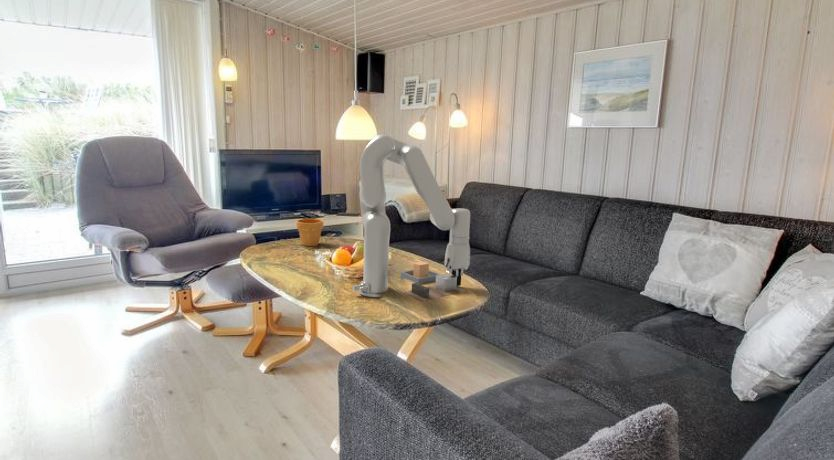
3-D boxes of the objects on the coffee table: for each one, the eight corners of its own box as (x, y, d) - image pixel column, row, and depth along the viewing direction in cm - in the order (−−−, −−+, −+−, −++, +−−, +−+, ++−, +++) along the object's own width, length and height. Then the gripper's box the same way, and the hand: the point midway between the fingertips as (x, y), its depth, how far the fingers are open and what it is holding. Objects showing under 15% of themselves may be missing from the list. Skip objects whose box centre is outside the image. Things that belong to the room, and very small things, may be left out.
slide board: (421, 305, 175) (422, 292, 174) (401, 296, 184) (402, 283, 183) (467, 294, 189) (468, 282, 188) (446, 286, 198) (447, 274, 197)
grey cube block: (444, 291, 186) (445, 279, 185) (435, 288, 190) (435, 275, 189) (456, 289, 189) (457, 277, 188) (446, 285, 194) (447, 273, 193)
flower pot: (292, 246, 256) (291, 222, 254) (302, 240, 270) (302, 217, 268) (317, 248, 254) (317, 223, 252) (327, 242, 268) (327, 219, 265)
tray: (418, 287, 195) (418, 279, 195) (400, 279, 204) (400, 271, 204) (440, 282, 203) (441, 274, 202) (422, 275, 212) (422, 267, 211)
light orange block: (419, 281, 200) (419, 265, 199) (413, 279, 203) (413, 263, 202) (428, 279, 204) (428, 263, 202) (422, 277, 207) (422, 261, 205)
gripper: (466, 236, 197) (463, 279, 201) (438, 240, 188) (436, 285, 191) (479, 240, 191) (476, 284, 195) (451, 244, 182) (449, 290, 186)
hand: (456, 284), depth 193 cm, fingers closed
